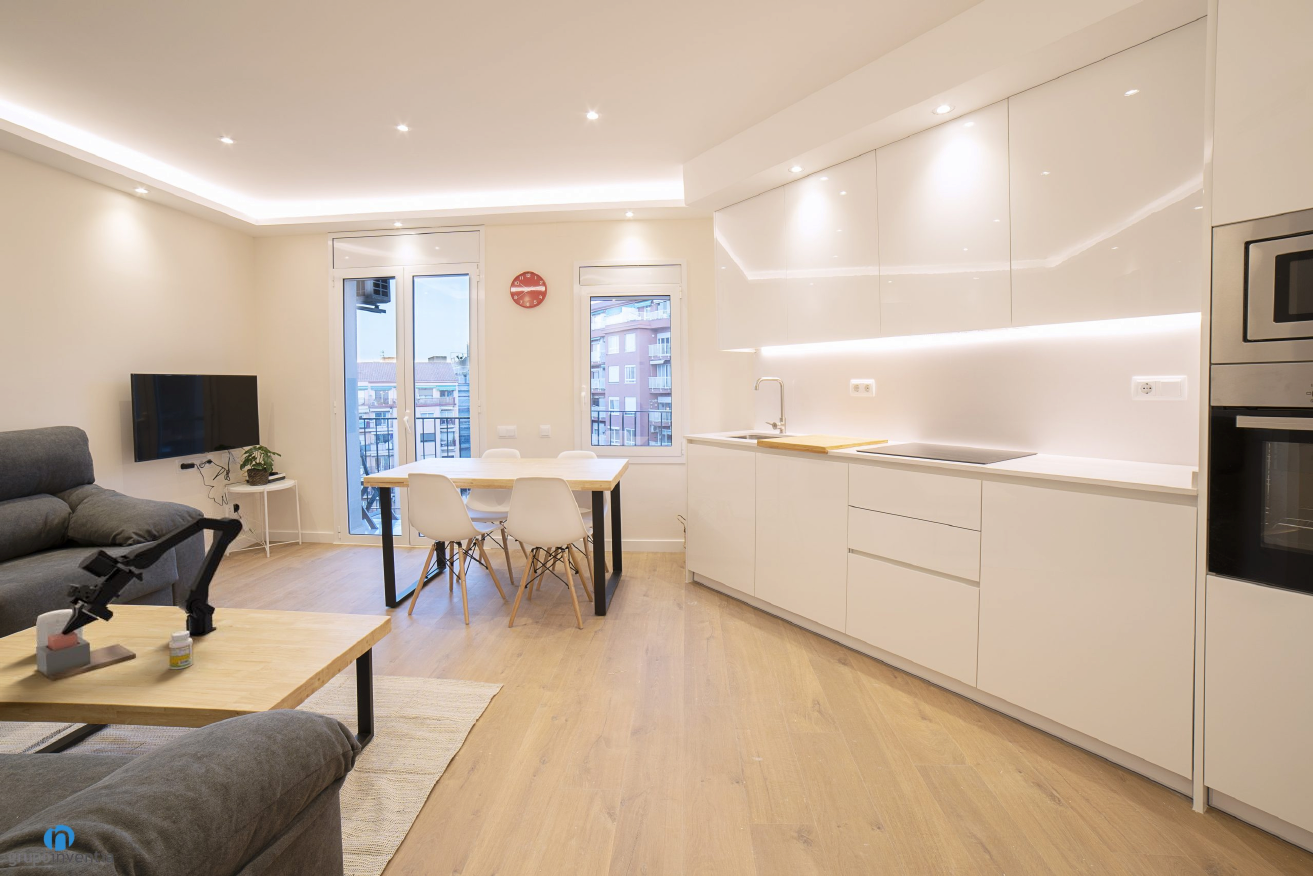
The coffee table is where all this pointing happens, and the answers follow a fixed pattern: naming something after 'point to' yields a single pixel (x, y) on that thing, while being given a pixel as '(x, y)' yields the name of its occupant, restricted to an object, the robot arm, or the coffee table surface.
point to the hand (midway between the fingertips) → (62, 634)
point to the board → (97, 660)
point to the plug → (62, 641)
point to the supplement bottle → (181, 650)
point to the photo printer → (53, 625)
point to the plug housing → (63, 657)
